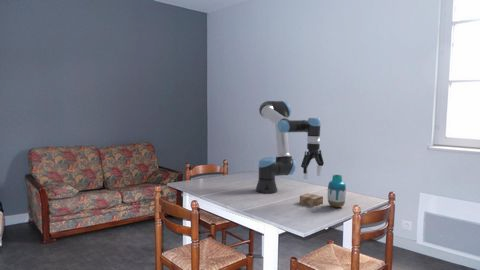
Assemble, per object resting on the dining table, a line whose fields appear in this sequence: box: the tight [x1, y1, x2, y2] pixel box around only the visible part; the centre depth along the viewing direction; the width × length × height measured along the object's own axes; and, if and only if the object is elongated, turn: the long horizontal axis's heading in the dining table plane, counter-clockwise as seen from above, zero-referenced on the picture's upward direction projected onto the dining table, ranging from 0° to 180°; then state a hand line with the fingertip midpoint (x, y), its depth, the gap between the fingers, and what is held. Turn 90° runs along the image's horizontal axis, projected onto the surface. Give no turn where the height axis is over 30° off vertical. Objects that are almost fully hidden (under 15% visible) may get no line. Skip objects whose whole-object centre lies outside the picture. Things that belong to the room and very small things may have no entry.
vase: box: [327, 174, 347, 208], centre depth 217 cm, size 11×11×19 cm
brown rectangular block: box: [299, 192, 324, 207], centre depth 224 cm, size 11×9×5 cm
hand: (312, 177), depth 223 cm, fingers open, 13 cm apart
